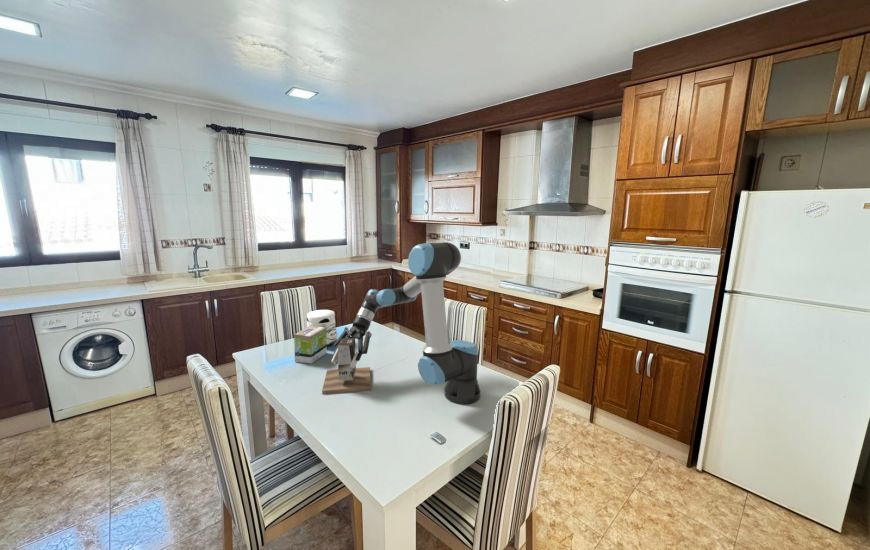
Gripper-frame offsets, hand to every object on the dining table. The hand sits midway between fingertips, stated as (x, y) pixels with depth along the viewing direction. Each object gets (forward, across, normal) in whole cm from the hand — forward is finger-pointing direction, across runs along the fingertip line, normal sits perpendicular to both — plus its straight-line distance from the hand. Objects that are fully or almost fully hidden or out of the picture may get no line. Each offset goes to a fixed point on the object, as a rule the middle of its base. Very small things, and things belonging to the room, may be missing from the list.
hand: (342, 364), depth 153 cm
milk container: (-18, +44, -33) cm, 57 cm away
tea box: (-5, +35, -20) cm, 40 cm away
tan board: (+4, +1, -10) cm, 11 cm away
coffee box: (+2, 0, -7) cm, 7 cm away
